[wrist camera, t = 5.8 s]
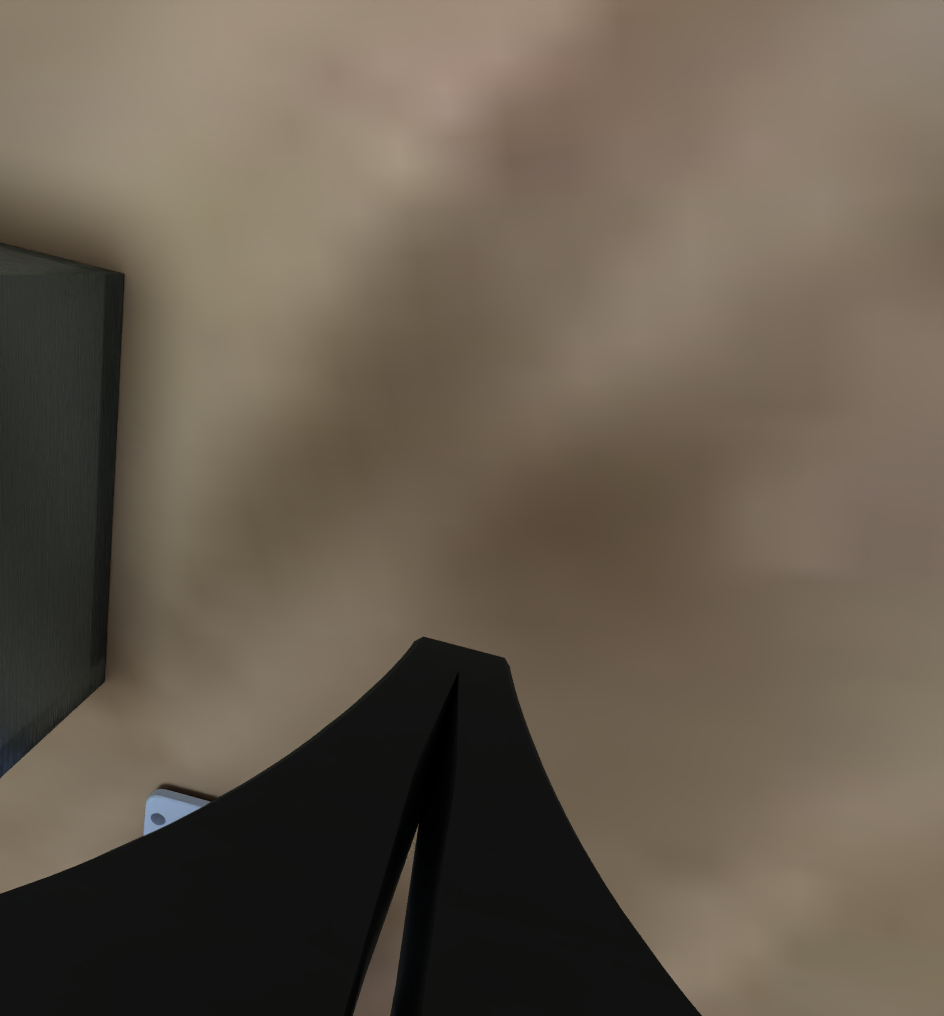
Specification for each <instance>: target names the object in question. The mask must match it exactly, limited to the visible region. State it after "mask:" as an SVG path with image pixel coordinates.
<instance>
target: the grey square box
mask: <svg viewBox="0 0 944 1016" xmlns="http://www.w3.org/2000/svg"><path fill="white" fill-rule="evenodd" d="M123 287H124V274H123V273H119V272H115V271H111V270H107V269H103V268H99V267H95V266H91V265H87V264H83V263H79V262H75V261H71V260H67V259H63V258H59V257H55V256H51V255H47V254H43V253H39V252H35V251H31V250H27V249H24V248H20V247H16V246H12V245H8V244H4V243H0V778H1V777H2V776H3V775H4V774H5V773H6V772H7V771H8V770H9V769H11V768H12V767H13V766H14V765H15V764H16V763H17V762H18V761H19V760H20V759H21V758H22V757H24V756H25V755H26V754H27V753H28V752H29V751H30V750H31V749H32V748H33V747H34V746H35V745H37V744H38V743H39V742H40V741H41V740H42V739H43V738H44V737H45V736H46V735H47V734H48V733H50V732H51V731H52V730H53V729H54V728H55V727H56V726H57V725H58V724H59V723H60V722H61V721H63V720H64V719H65V718H66V717H67V716H68V715H69V714H70V713H71V712H72V711H73V710H75V709H76V708H77V707H78V706H79V705H80V704H81V703H82V702H83V701H84V700H85V699H86V698H88V697H89V696H90V695H91V694H92V693H93V692H94V691H95V690H96V689H97V688H98V687H99V686H101V685H102V684H103V683H104V679H105V658H106V637H107V617H108V596H109V576H110V555H111V534H112V514H113V493H114V473H115V452H116V431H117V411H118V390H119V370H120V349H121V328H122V308H123Z"/></svg>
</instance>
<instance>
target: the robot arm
mask: <svg viewBox="0 0 944 1016" xmlns="http://www.w3.org/2000/svg"><path fill="white" fill-rule="evenodd" d="M160 814H161V815H160ZM162 815H163V816H162ZM418 824H419V826H418ZM417 827H418V833H417V840H416V847H415V854H414V861H413V868H412V875H411V882H410V889H409V896H408V903H407V910H406V917H405V924H404V931H403V938H402V945H401V952H400V959H399V966H398V974H397V981H396V987H395V993H394V998H393V1004H392V1009H391V1015H390V1016H702V1015H701V1014H700V1013H699V1012H698V1011H697V1009H696V1008H695V1007H694V1006H693V1005H692V1003H691V1002H690V1001H689V1000H688V999H687V997H686V996H685V995H684V994H683V992H682V991H681V990H680V988H679V987H678V986H677V985H676V983H675V982H674V981H673V979H672V978H671V977H670V975H669V974H668V973H667V972H666V970H665V969H664V968H663V966H662V965H661V963H660V962H659V961H658V959H657V958H656V957H655V955H654V954H653V952H652V951H651V950H650V948H649V947H648V945H647V944H646V943H645V941H644V940H643V939H642V937H641V936H640V934H639V933H638V932H637V930H636V929H635V928H634V926H633V925H632V923H631V922H630V921H629V919H628V918H627V916H626V915H625V914H624V912H623V911H622V910H621V908H620V906H619V905H618V903H617V902H616V900H615V899H614V897H613V896H612V894H611V892H610V891H609V889H608V888H607V886H606V885H605V883H604V882H603V880H602V878H601V877H600V875H599V873H598V872H597V870H596V868H595V867H594V865H593V863H592V861H591V860H590V858H589V856H588V855H587V853H586V851H585V850H584V848H583V846H582V844H581V842H580V841H579V839H578V837H577V835H576V833H575V832H574V830H573V828H572V826H571V824H570V822H569V820H568V818H567V816H566V814H565V812H564V810H563V808H562V806H561V804H560V802H559V800H558V798H557V796H556V794H555V792H554V790H553V787H552V785H551V783H550V781H549V779H548V776H547V774H546V772H545V770H544V767H543V765H542V763H541V760H540V758H539V755H538V753H537V750H536V748H535V745H534V743H533V740H532V738H531V735H530V733H529V730H528V727H527V725H526V722H525V719H524V716H523V713H522V710H521V707H520V704H519V701H518V698H517V694H516V691H515V687H514V683H513V679H512V675H511V671H510V666H509V665H508V663H507V661H506V659H505V658H503V657H499V656H495V655H492V654H488V653H484V652H480V651H476V650H473V649H469V648H465V647H461V646H457V645H453V644H450V643H446V642H442V641H438V640H434V639H431V638H427V637H422V638H420V639H418V640H416V641H414V643H413V644H412V645H411V647H410V648H409V649H408V651H407V652H406V653H405V654H404V656H403V657H402V658H401V659H400V660H399V661H398V662H397V663H396V664H395V665H394V667H393V668H392V669H391V670H390V671H389V672H388V673H387V674H386V675H385V676H384V677H383V678H382V679H381V680H380V681H379V682H378V683H376V684H375V685H374V686H373V687H372V688H371V689H370V690H369V691H368V692H367V693H365V694H364V695H363V696H362V697H361V698H360V699H359V700H358V701H357V702H356V703H355V704H353V705H352V706H351V707H350V708H349V709H348V710H346V711H345V712H344V713H343V714H341V715H340V716H339V717H338V718H336V719H335V720H334V721H333V722H331V723H330V724H329V725H327V726H326V727H325V728H324V729H322V730H321V731H320V732H319V733H317V734H316V735H315V736H313V737H312V738H311V739H310V740H308V741H307V742H306V743H304V744H303V745H301V746H300V747H299V748H297V749H296V750H294V751H293V752H291V753H290V754H289V755H287V756H286V757H284V758H283V759H281V760H280V761H278V762H277V763H275V764H274V765H272V766H271V767H269V768H267V769H266V770H264V771H263V772H261V773H260V774H258V775H256V776H255V777H253V778H252V779H250V780H248V781H247V782H245V783H243V784H242V785H240V786H238V787H236V788H235V789H233V790H231V791H229V792H228V793H226V794H224V795H222V796H220V797H219V798H217V799H215V800H213V801H212V802H210V801H206V800H203V799H199V798H195V797H192V796H188V795H184V794H181V793H177V792H173V791H170V790H166V789H158V790H155V791H154V792H153V793H152V794H151V795H150V796H149V798H148V799H147V801H146V807H145V820H144V832H143V836H142V837H140V838H138V839H136V840H133V841H131V842H129V843H127V844H124V845H122V846H120V847H118V848H116V849H113V850H111V851H109V852H107V853H105V854H102V855H100V856H98V857H96V858H94V859H91V860H89V861H87V862H84V863H82V864H80V865H77V866H75V867H72V868H70V869H67V870H65V871H62V872H60V873H57V874H54V875H52V876H49V877H46V878H44V879H41V880H38V881H35V882H32V883H30V884H27V885H24V886H21V887H18V888H16V889H13V890H10V891H7V892H4V893H1V894H0V1016H353V1013H354V1010H355V1006H356V1003H357V1000H358V997H359V994H360V990H361V987H362V984H363V981H364V978H365V975H366V972H367V969H368V966H369V963H370V960H371V958H372V955H373V952H374V949H375V946H376V943H377V940H378V938H379V935H380V932H381V929H382V926H383V923H384V921H385V918H386V915H387V912H388V909H389V906H390V904H391V901H392V898H393V895H394V892H395V889H396V887H397V884H398V881H399V878H400V875H401V872H402V870H403V867H404V864H405V861H406V858H407V855H408V852H409V850H410V847H411V844H412V841H413V838H414V835H415V832H416V830H417Z"/></svg>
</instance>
